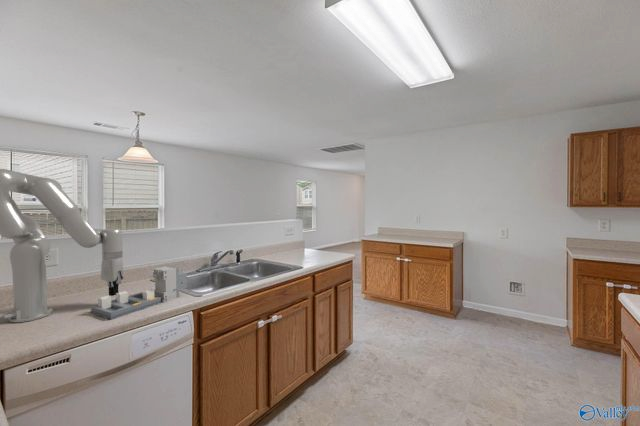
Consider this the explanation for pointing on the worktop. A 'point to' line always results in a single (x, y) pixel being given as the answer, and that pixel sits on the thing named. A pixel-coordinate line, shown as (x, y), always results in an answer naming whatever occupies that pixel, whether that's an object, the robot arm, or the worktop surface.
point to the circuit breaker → (169, 282)
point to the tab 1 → (104, 302)
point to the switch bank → (125, 306)
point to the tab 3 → (148, 294)
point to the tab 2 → (122, 297)
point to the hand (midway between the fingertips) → (113, 294)
